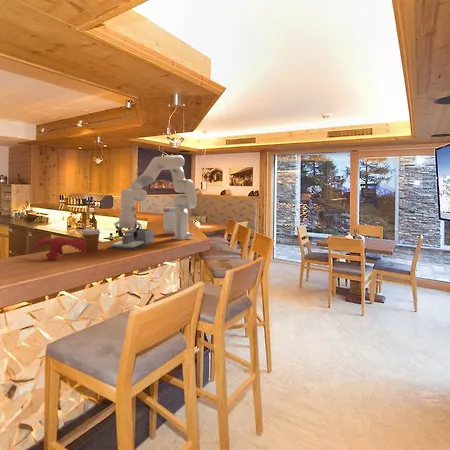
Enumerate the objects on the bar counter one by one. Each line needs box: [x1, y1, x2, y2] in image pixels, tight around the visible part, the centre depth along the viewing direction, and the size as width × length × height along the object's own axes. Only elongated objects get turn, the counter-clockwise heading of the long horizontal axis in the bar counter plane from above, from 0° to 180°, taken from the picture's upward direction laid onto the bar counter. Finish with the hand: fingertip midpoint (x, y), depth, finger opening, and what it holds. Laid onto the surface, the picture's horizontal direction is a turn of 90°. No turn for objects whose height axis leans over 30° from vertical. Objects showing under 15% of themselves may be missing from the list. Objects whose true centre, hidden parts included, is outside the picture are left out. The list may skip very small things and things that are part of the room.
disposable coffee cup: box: [81, 228, 101, 253], centre depth 188 cm, size 10×10×12 cm
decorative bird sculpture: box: [32, 236, 87, 261], centre depth 169 cm, size 28×9×15 cm
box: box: [124, 228, 154, 245], centre depth 219 cm, size 14×14×8 cm
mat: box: [106, 243, 149, 251], centre depth 203 cm, size 18×18×1 cm
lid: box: [110, 233, 144, 248], centre depth 203 cm, size 15×15×7 cm
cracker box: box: [163, 206, 175, 236], centre depth 257 cm, size 14×6×21 cm, turn 84°
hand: (127, 237), depth 202 cm, fingers open, 9 cm apart
